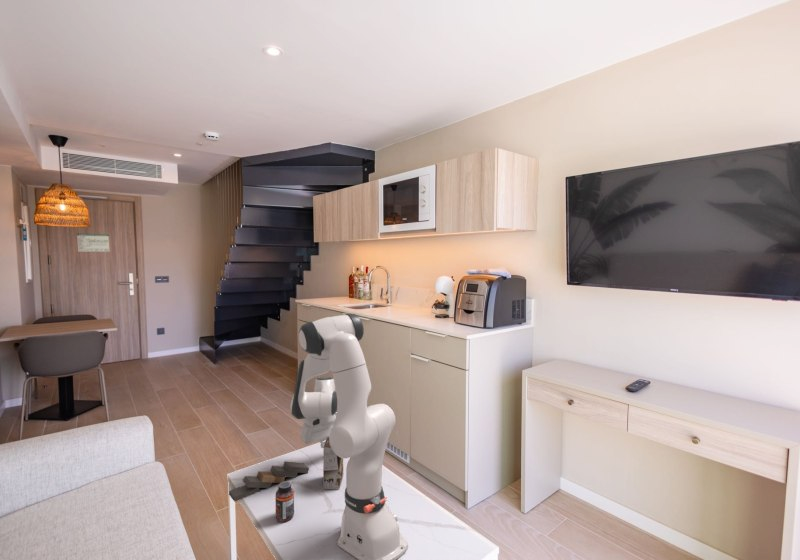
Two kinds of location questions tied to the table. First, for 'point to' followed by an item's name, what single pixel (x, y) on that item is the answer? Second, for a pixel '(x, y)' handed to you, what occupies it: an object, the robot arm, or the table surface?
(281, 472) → the domino
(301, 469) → the domino
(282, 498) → the supplement bottle
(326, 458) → the coffee box
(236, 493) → the domino
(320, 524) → the table surface
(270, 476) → the domino
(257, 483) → the domino
